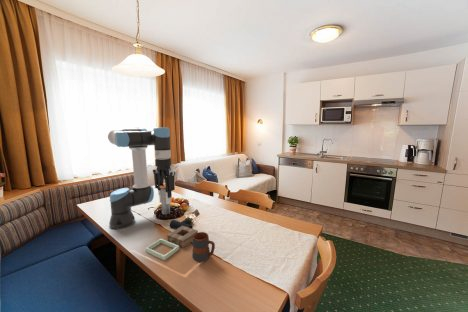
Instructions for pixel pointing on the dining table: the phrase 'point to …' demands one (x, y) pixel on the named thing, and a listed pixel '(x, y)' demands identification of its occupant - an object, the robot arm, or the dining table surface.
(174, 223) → the pipe connector
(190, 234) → the socket block
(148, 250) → the pale green rectangular frame
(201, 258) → the mug
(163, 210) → the pin
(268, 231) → the dining table surface
